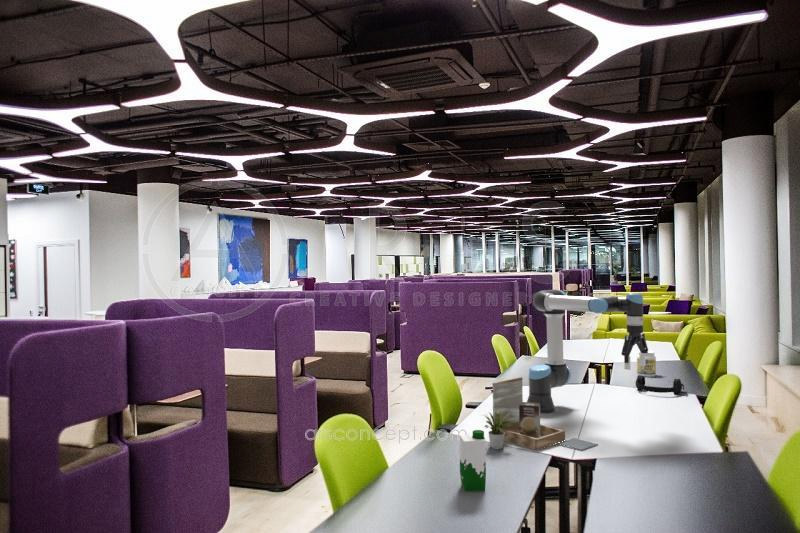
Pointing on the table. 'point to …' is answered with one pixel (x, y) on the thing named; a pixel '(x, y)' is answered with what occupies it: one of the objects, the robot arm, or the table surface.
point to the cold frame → (508, 402)
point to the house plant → (497, 430)
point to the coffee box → (529, 419)
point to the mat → (578, 444)
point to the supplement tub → (647, 365)
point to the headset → (676, 387)
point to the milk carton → (473, 461)
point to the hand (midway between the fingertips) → (635, 367)
